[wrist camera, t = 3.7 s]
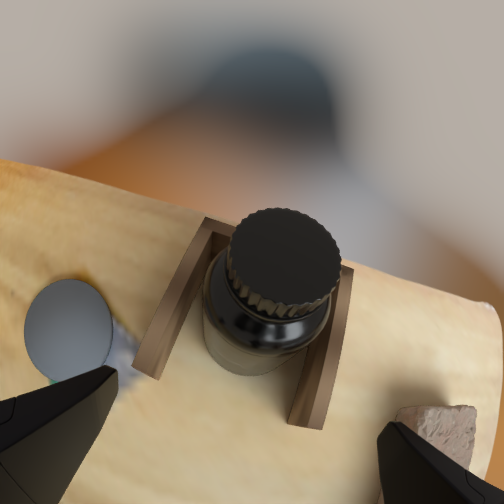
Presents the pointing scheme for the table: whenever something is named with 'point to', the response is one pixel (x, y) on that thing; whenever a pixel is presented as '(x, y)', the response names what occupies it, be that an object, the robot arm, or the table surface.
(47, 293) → the coaster
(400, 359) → the table surface
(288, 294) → the supplement bottle
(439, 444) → the brick
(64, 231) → the table surface
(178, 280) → the wooden u-shaped frame
